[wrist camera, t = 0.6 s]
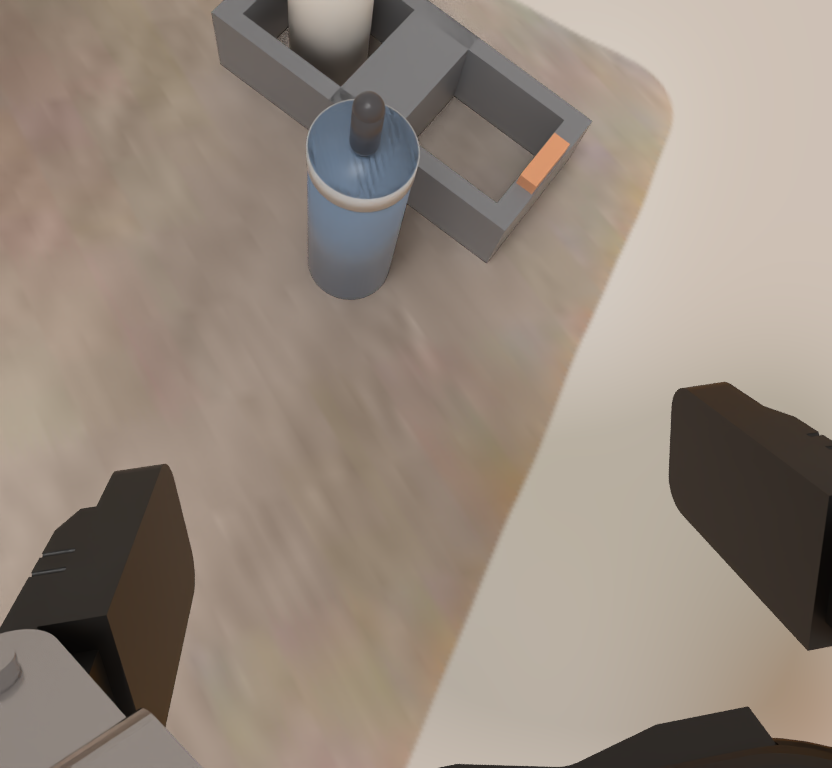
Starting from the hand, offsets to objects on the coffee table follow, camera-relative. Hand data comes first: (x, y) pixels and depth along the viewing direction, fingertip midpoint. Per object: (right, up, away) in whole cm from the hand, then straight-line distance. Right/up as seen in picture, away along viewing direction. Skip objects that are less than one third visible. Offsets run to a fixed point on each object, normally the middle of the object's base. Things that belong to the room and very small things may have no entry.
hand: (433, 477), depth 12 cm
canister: (-4, +8, +28) cm, 29 cm away
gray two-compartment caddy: (-1, +17, +30) cm, 35 cm away
